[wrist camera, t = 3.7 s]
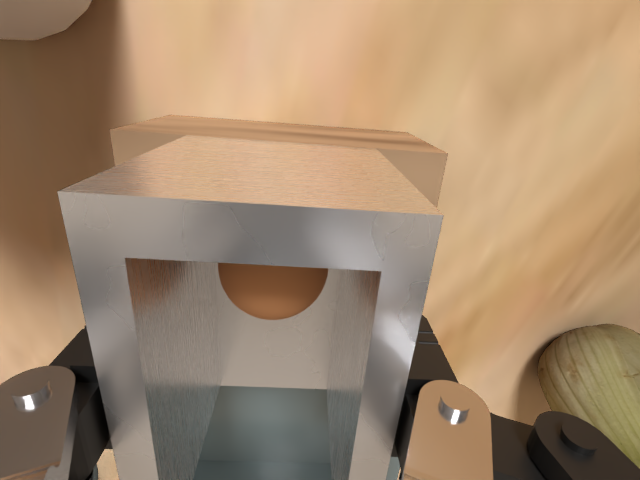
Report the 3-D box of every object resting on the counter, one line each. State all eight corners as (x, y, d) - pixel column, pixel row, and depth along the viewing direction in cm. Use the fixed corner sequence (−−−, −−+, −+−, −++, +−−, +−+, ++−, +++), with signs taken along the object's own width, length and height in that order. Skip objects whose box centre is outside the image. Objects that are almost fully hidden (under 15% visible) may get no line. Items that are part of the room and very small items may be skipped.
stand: (169, 114, 15) (109, 129, 11) (407, 132, 16) (447, 153, 11) (185, 300, 19) (145, 371, 14) (378, 309, 19) (400, 380, 15)
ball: (228, 193, 11) (201, 231, 8) (330, 199, 11) (337, 239, 8) (231, 281, 12) (207, 341, 9) (322, 286, 12) (326, 346, 9)
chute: (186, 134, 11) (56, 191, 5) (376, 148, 11) (443, 214, 5) (202, 372, 14) (136, 556, 9) (345, 378, 15) (368, 559, 9)
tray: (155, 298, 19) (123, 343, 15) (406, 310, 19) (426, 356, 16) (174, 459, 23) (153, 519, 20) (376, 464, 24) (386, 522, 21)
